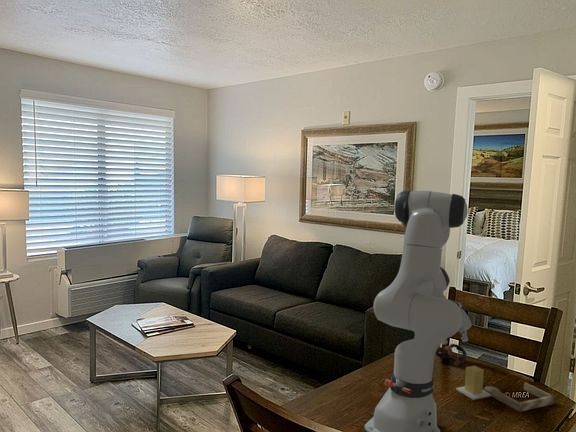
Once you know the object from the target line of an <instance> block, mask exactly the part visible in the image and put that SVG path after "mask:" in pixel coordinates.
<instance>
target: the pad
mask: <svg viewBox="0 0 576 432" xmlns="http://www.w3.org/2000/svg"><path fill="white" fill-rule="evenodd" d="M455 390H456V391H458V392H460V393H461V394H463V395H465V396H466V397H468V398H470V399H471V400H473V401H475V400H479V399H480V400H481V399H484V398H491V397H492V393H490V392H487V391H486V390H485V389H483V391H482V393H479V394H474V395H473V394H471V393H470V392H468V391H466V390H465V385H464V386H459V387H455Z"/></svg>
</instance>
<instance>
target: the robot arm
mask: <svg viewBox="0 0 576 432" xmlns="http://www.w3.org/2000/svg"><path fill="white" fill-rule="evenodd" d="M393 209H394V210H393V211H394V215H395V218H396V219H397V221H399V222H400V223H402V224H403V226H406V227H405V232H404V239H403V246H402V255H401V260H400V265H399V266H400V267H399V268H398V269H399V270H398V272H397V275H396V276H395V278H394V280H393V281H392V282H391V283H390V285H388V286H387V287H386V288H384V289H382V290H381V291H379V293H377V294H376V296H375V298H374V301H373V306H372V307H373V312H374V315H375V318H376V319H377V321H380V322H382V323H384V324H386V325H389V326H391V327H395V328H399V329H404V330H408V331H412V332H413V333H414V337H413V338H412V339H408V340H405V341H402V342H400V343H399V344H398V345H397V346H396V347H395V350H394V357H393V358H394V361H393V372H392V375H391V377H390V379H389V378H386V379H385V381H384V386H386V387H389V388H388V389H387V391H386V392H385V393H384V394H383V396H382V398H381V399H380V401H379V402H378V404H377V405H376V406H375V408H374V413H373V417H371V418H370V419H369V420H368V421H367V422H366V423H365V424H364V430H365V431H366V432H441V430H440V428H439V427H438V421H437V418H438V416H437V403H436V401H435V399H434V395H433V392H434V387H435V382H434V378H433V372H434V371H433V369H434V363H435V357H436V356H435V355H436V350H437V348H438V347H440V345H447V344H448V343H449V341H448V339H449V338H451V337H453V336H455V334H456V333H457V332H459V333H460V334H461V337H460V339H461V341H462V342H463V343H465V342H468V341H469V338H468V336H467V330H469V329H470V328H471V327H472V321H471V319H470V317H469V316H468V314H467V312H466V311H465V309H463V306H462V303H461V302H458V301H455V300H452V299H447V297H446V296H445V294H444V291H446V290H447V288H448V287H449V284H450V283H451V281H450V277H449V274H448V273H447V271H446V270H445V269H444V268H443V267H442V266H441V262H442V254H443V253H442V251H443V247H444V246H445V245H446V243H447V242H448V240H449V238H450V233H451V229H452V228H453V229H454V228H460V227H461V226H462V225H463V224H464V222H465V220H466V219H467V217H468V210H469V208H468V204H467V202H466V199H465V198H464V197H463V195H460V194H457V193H452V194H450V193H447V192H446V193H444V192H437V191H431V190H414V191H413V190H402V191H400V192H399V193H398V194H397V196H396V198H395V200H394V204H393Z"/></svg>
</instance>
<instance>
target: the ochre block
mask: <svg viewBox="0 0 576 432" xmlns="http://www.w3.org/2000/svg"><path fill="white" fill-rule="evenodd" d="M484 372H485V371H484V369H482V368H481V367H478V366H476V365H470V366H469V365H468V366H466V367H465V379H464V386H465V390H466V391H468V392H470V393H471V394H473V395H474V394H479V393H482V391H483V390H484V387H483V383H484Z"/></svg>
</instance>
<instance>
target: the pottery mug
mask: <svg viewBox="0 0 576 432" xmlns="http://www.w3.org/2000/svg"><path fill="white" fill-rule="evenodd" d="M453 348H455V349H456V351H459V352H461V353H462V356H461V355H460V356H459V357H458V355H457V354H456V353H455V352H454V351H453ZM435 355H436V356H437V357H438V358H439V360H441V361H443V360H444V357H445V358H452V359H453V360H454V363H453V366H454V367H458V366H459V365H461V364H463V363H464V362H465V361H466V358H467V351H466V350H465V349H464V348H463V347H462V346H460V345H459V344H458V343H457V344H455V343H450V344H449V345H446V346H445V347H443V346H439V347H438V348H437V350H436V353H435Z"/></svg>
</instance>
